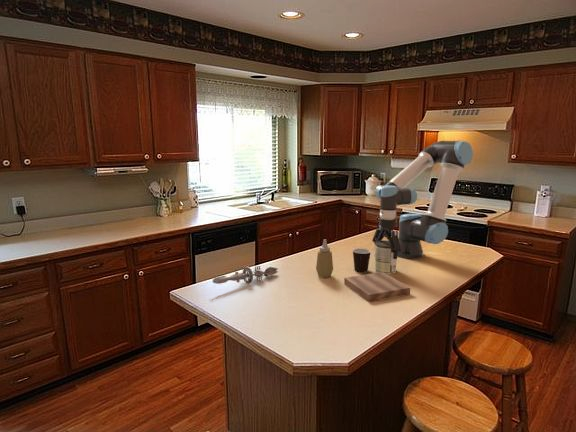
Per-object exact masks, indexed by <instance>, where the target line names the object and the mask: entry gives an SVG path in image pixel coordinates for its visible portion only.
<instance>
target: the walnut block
mask: <svg viewBox="0 0 576 432" xmlns="http://www.w3.org/2000/svg"><path fill="white" fill-rule="evenodd" d="M343 282H344V283H343V284H344V285H345V286H346V287H347V288H349V289H350V290H352V291H353V292H354V293H356V294H358V295H359V296H360V297H362V299H363V300H365V301H367V302H368V303H370V302H375V301H380V300H387V299H394V298H398V297H403V296H408V295H411V287H410V286H408V285H407V284H405V283H403V282H401V281H399V280H397V279H395V278H394V277H393V276H391V275H390V274H385V273H383V272H380V273H377V272H374V273H368V274H360V275H354V276H347V277H344V281H343Z"/></svg>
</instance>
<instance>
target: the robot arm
mask: <svg viewBox="0 0 576 432" xmlns="http://www.w3.org/2000/svg"><path fill="white" fill-rule="evenodd" d="M473 156H474V150H473V147H472V145H471V144H470V143H469V142H468V141H466V140H465V141H462V140H439V141H436V142H434V143H432V144H430V145H429V146H427V147H426V148H424V149H423V150H422V151H420V152H419V154H418V156H417V157H416V158H415V159H414V160H413V161H412V162H410V163H409V164H408V165H407V166H406V167H404V168H403V169H402V170H401V171H399V173H397V174H396V175H395V176H393V178H392V179H390V180H389V181H388V182H387V183H385V185H383V184H380V185H377V186H376V187H375V189H374V195H375V198H377V200H380V201H379V202H380V204H379V206H380V207H379V218H378V219H379V220H378V221H379V223H378V225H376V230H375V231H374V234H373V238H372V240H371V242H372V243H374V251H375V250H376V244H375V243H376V242H377V241H383V239H384V238H386V239H387V241H389V243H390V245H391V248H392V252H391V266H392V265H396V266H397V260H398V258H403V259H410V260H414V259H420V258H423V256H424V251H423V247H422V244H421V241H422V242H426V243H427V244H432V245H439V244H441V243H442V242H444V240H445V239H446V238H447V237H448V234H449V229H448V228H449V226H448V225H447V219H446V218H445V215H446V212H447V209H448V206H449V204H450V200H451V197H452V194H453V190H454V188H455V185H456V181H457V179H458V177H459V173H460V172H461V171H463V170H464V168H465V166H467V165H469V164H470V163H471V162H472V160H473ZM436 164H439V166H440V167H441V168H440V172H439V175H438V179H437V181H436V184H435V187H434V190H433V192H432V193H433V194H432V196H431V199H430V202H429V205H428V208H427V211H426V212H425V213H423V214H422V213H404V214H401V215H400V216H399V221H398V230H394V228H395V227H396V221H397V220H396V218H397V206H403V205H404V206H405V205H411V204H414V203H416V202H417V200H418V193H417V190H416V189H414V188H410V187H409V188H408V187H407V186H408V185H410V184H411V182H412V181H413V180H415V179H416V178H417V177H418V176H420V175H421V174H422V173H424V172H425V171H426V170H427V169H428V168H432V167H433V166H434V165H436ZM406 187H407V188H406Z"/></svg>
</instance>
